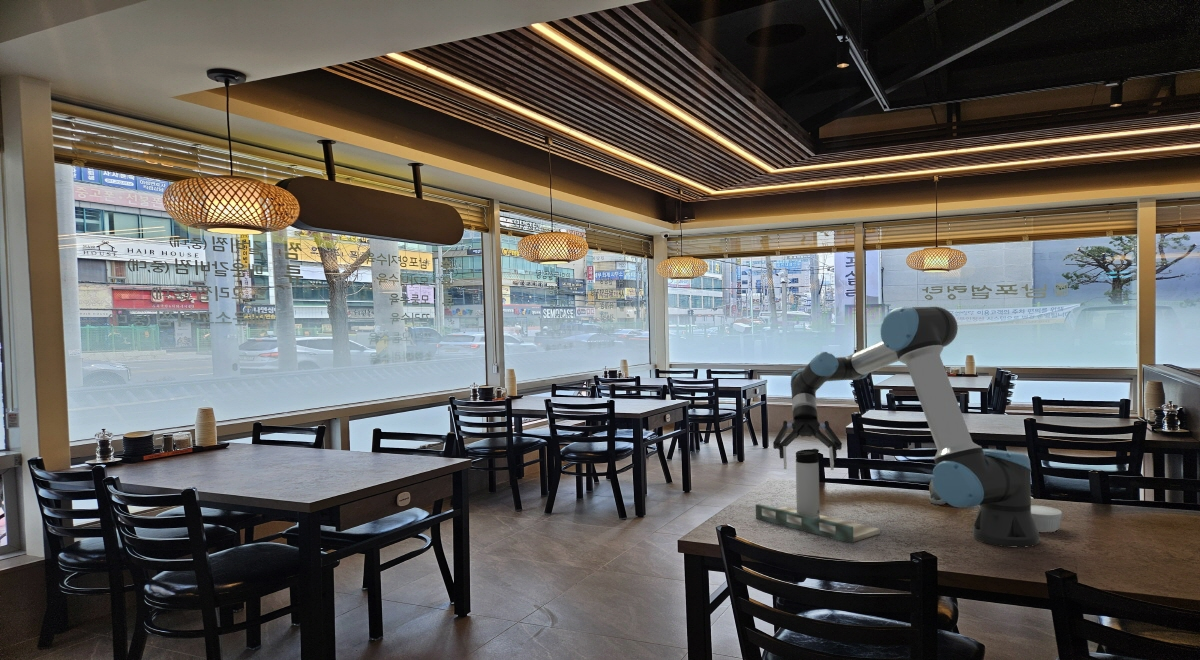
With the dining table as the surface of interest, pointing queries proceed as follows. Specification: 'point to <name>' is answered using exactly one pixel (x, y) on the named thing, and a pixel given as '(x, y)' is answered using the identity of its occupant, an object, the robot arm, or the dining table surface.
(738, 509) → the dining table surface
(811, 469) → the travel mug
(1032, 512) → the ramekin
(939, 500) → the ceramic mug
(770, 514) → the shelf
